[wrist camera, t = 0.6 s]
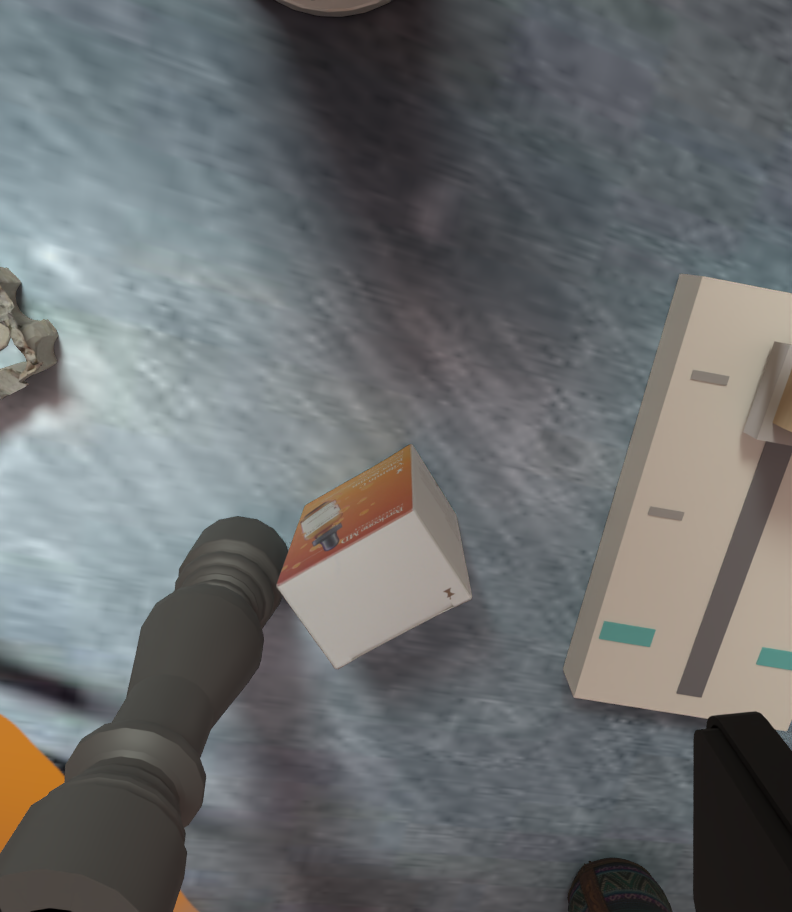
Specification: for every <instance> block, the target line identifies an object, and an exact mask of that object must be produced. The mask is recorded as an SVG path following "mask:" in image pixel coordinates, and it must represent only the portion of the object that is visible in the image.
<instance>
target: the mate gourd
mask: <svg viewBox="0 0 792 912" xmlns="http://www.w3.org/2000/svg"><path fill="white" fill-rule="evenodd" d="M568 903H569V905H568V911H569V912H672V909H671V906H670V903H669V902H668V899H667V897H666V895H665V894H664V892H663V890H662V889H661V887H660V886H659V885H658V883H657V882H656V881H655V880H654V878H652V876H651V875H650V873H649V872H648V871H647V870H646V869H645V868H643V867H642V866H640V865H638V864H636V863H634V862H631V861H628V860H625V859H619V858H606V859H601V860H597V861H593V862H591V861H589V863H588V864H584V866H583V867H582V868H581V869H580V871H579V872H578V874H577V876H576V877H575V879H574V881H573V883H572V885H571V888H570V890H569V893H568Z"/></svg>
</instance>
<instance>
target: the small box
mask: <svg viewBox="0 0 792 912" xmlns="http://www.w3.org/2000/svg"><path fill="white" fill-rule="evenodd" d="M276 587H277V588H278V590H279V591H280V593H281V594H282V595H283V597H284V598H285V600H286V601H287V602H288V604H289V605H290V607H291V608H292V609H293V611H294V612H295V614H296V615H297V616H298V618H299V619H300V621H301V622H302V623H303V625H304V626H305V628H306V629H307V630H308V632H309V633H310V635H311V636H312V637H313V639H314V640H315V642H316V643H317V644H318V646H319V647H320V649H321V650H322V651H323V653H324V654H325V655H326V657H327V658H328V660H329V661H330V662H331V664H332V665H333V667H334V668H335V669H339V668H341V667H343V666H344V665H346V664H348V663H350V662H351V661H353V660H354V659H356V658H358V657H360V656H361V655H363V654H365V653H367V652H369V651H371V650H372V649H374V648H376V647H378V646H380V645H382V644H384V643H385V642H387V641H389V640H391V639H393V638H395V637H397V636H399V635H401V634H403V633H404V632H406V631H408V630H410V629H412V628H414V627H416V626H418V625H420V624H422V623H423V622H425V621H427V620H429V619H431V618H433V617H435V616H437V615H439V614H441V613H443V612H445V611H447V610H449V609H451V608H454V607H456V606H458V605H461V604H463V603H465V602H467V601H469V600H471V599H472V592H471V587H470V582H469V576H468V571H467V567H466V562H465V557H464V552H463V547H462V542H461V536H460V531H459V526H458V520H457V515H456V513H455V512H454V510H453V509H452V507H451V506H450V504H449V502H448V501H447V499H446V498H445V496H444V494H443V493H442V491H441V490H440V488H439V486H438V485H437V483H436V481H435V480H434V478H433V477H432V475H431V473H430V472H429V470H428V468H427V467H426V465H425V464H424V462H423V460H422V459H421V457H420V456H419V454H418V452H417V451H416V449H415V448H414V446H413V445H412V444H410V445H408V446H406V447H405V448H403V449H402V450H400V451H398V452H397V453H395V454H394V455H392V456H390V457H389V458H387V459H385V460H384V461H382V462H380V463H379V464H377V465H375V466H374V467H372V468H370V469H368V470H367V471H365V472H363V473H361V474H359V475H358V476H356V477H354V478H352V479H351V480H349V481H347V482H345V483H343V484H342V485H340V486H338V487H336V488H335V489H333V490H331V491H329V492H328V493H326V494H324V495H322V496H321V497H319V498H317V499H315V500H314V501H312V502H310V503H308V504H307V505H306V506H305V507H304V509H303V512H302V515H301V518H300V520H299V523H298V526H297V529H296V531H295V534H294V537H293V540H292V543H291V545H290V548H289V551H288V554H287V556H286V559H285V562H284V565H283V568H282V571H281V573H280V576H279V579H278V581H277V584H276Z"/></svg>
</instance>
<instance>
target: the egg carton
mask: <svg viewBox="0 0 792 912" xmlns="http://www.w3.org/2000/svg"><path fill="white" fill-rule="evenodd" d="M20 284H21V281H20V280H19V279H18V278H17V277H16V276H15V275H14V274H13V273H12V272H11V271H10V270H9V269H8V268H3V267H0V350H2V349H4V348H5V347H6V346H7V345H8V342H9V341H10V338H12V340H13V342H14V344H15V345H16V347H17V348H18V349H19V350H20V351H21V352H22V353H23V354H24V356H25V358H26V361H27V362H21V363H17V364H14V365H11V366H8V367H5V368H1V369H0V400H1V399H2V398H4V397H6V396H7V395H11V394H12V393H15V392H16V391H18V390H20V389H22V388H24V387H26V386H27V385H29V383H27V382H25V381H24V380H26V379H27V378H28V377H30V376H31V375H33V374H37V373H39V372H42V371H44V370H46V369H48V368H50V367H51V366H53V365H55V364H56V363H57V360H56V357H55V354H54V343H55V340H56V339H57V337H58V333H57V330H56V329H55V327H54V326H53V325H52V324H51V322H50V321H49V320H48V319H47V320H45V319H43V320H41V321H38V320H32V319H30V318H28V317H27V316H25V315H24V314H23V313H22V312H21V311H20V310H19V308H18V306H17V302H16V291H17V289H18V287H19V285H20Z"/></svg>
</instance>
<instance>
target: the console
mask: <svg viewBox="0 0 792 912" xmlns="http://www.w3.org/2000/svg"><path fill="white" fill-rule="evenodd" d="M774 341H776V342H781V343H786V344H792V294H791V293H786V292H781V291H776V290H771V289H766V288H760V287H755V286H750V285H745V284H740V283H735V282H730V281H724V280H719V279H714V278H709V277H704V276H696V275H688V274H680V275H679V278H678V282H677V285H676V288H675V292H674V295H673V299H672V302H671V305H670V309H669V312H668V316H667V319H666V322H665V326H664V329H663V332H662V336H661V339H660V343H659V346H658V349H657V353H656V356H655V359H654V363H653V366H652V370H651V373H650V376H649V380H648V383H647V386H646V390H645V393H644V397H643V400H642V403H641V407H640V410H639V414H638V417H637V420H636V424H635V427H634V430H633V434H632V437H631V441H630V444H629V447H628V451H627V454H626V457H625V461H624V464H623V468H622V471H621V474H620V478H619V481H618V484H617V488H616V491H615V495H614V498H613V501H612V505H611V508H610V511H609V515H608V518H607V522H606V525H605V528H604V532H603V535H602V539H601V542H600V545H599V549H598V552H597V555H596V559H595V562H594V566H593V569H592V572H591V576H590V579H589V582H588V586H587V589H586V593H585V596H584V599H583V603H582V606H581V609H580V613H579V616H578V620H577V623H576V626H575V630H574V633H573V637H572V640H571V643H570V647H569V650H568V653H567V657H566V660H565V664H564V667H563V671H564V673H565V676H566V679H567V681H568V684H569V686H570V689H571V692H572V694H573V697H574V698H580V699H586V700H592V701H599V702H605V703H611V704H618V705H624V706H630V707H637V708H643V709H649V710H656V711H662V712H668V713H675V714H681V715H687V716H694V717H700V718H706V719H708V718H709V717H710V716H713V715H723V714H733V713H743V712H753V711H757V712H759V713H761V714H762V715H763V716H764V717H765V718H766V719H767V720H768V721H769V723H770V724H771V725H772V727H773V728H774V729H776V730H782V731H787V730H788V727H789V725H790V723H791V720H792V446H790V445H784V444H779V443H773V442H768V441H762V440H757V439H755V438H753V437H751V436H750V435H748V434H746V433H744V432H743V431H744V428H745V425H746V422H747V419H748V416H749V413H750V410H751V408H752V405H753V402H754V399H755V396H756V393H757V390H758V387H759V384H760V381H761V379H762V376H763V373H764V370H765V367H766V364H767V361H768V358H769V355H770V353H771V350H772V347H773V344H774Z"/></svg>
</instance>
